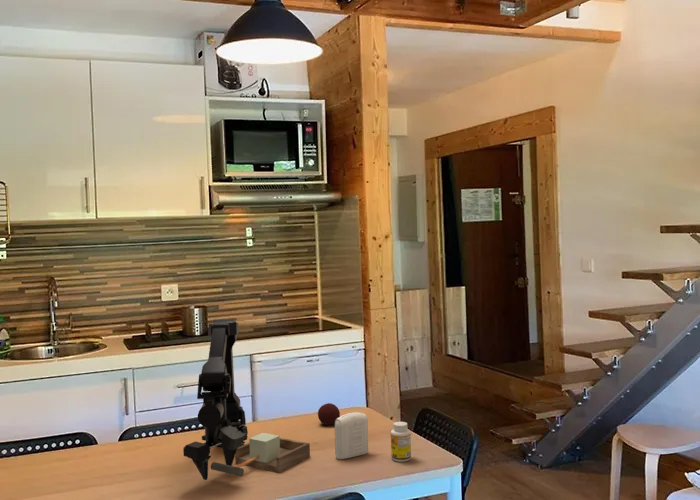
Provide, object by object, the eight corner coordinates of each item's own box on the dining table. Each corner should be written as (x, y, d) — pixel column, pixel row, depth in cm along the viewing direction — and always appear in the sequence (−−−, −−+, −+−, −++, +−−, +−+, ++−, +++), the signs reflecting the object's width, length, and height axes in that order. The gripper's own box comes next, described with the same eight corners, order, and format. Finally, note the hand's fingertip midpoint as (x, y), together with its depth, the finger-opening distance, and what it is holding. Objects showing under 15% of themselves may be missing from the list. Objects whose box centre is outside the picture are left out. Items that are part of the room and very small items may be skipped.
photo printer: (362, 449, 201) (361, 408, 201) (370, 453, 198) (369, 411, 197) (333, 457, 196) (331, 414, 195) (341, 461, 192) (339, 418, 192)
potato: (316, 427, 224) (315, 406, 224) (320, 420, 232) (320, 400, 232) (337, 428, 223) (337, 406, 223) (342, 421, 231) (341, 400, 231)
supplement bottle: (390, 456, 195) (389, 420, 195) (409, 455, 196) (408, 420, 195) (392, 462, 190) (391, 426, 189) (412, 462, 190) (411, 426, 190)
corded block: (210, 474, 180) (209, 451, 180) (258, 452, 197) (257, 431, 197) (239, 480, 175) (238, 457, 175) (285, 457, 192) (285, 436, 191)
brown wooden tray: (235, 462, 193) (235, 449, 193) (267, 448, 205) (266, 435, 205) (279, 472, 184) (279, 458, 184) (309, 457, 196) (309, 443, 196)
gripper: (212, 430, 168) (215, 492, 168) (261, 411, 183) (263, 468, 184) (180, 423, 174) (183, 483, 174) (230, 406, 189) (232, 461, 190)
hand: (217, 474), depth 181 cm, fingers open, 9 cm apart
